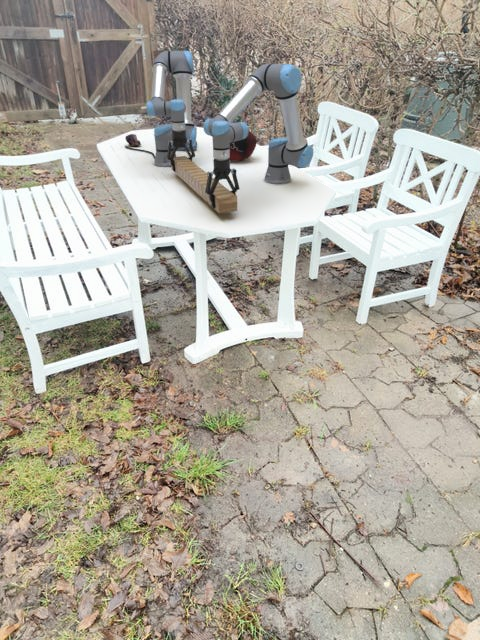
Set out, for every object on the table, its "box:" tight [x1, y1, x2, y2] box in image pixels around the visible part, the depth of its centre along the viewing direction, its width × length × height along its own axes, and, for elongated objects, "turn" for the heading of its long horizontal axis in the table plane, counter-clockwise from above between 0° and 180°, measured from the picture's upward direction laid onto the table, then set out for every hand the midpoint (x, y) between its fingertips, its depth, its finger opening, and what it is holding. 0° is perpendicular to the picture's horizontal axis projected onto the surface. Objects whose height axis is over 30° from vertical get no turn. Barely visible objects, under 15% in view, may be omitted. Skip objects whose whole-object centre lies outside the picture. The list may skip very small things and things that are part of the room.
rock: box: [125, 133, 142, 147], centre depth 332 cm, size 12×9×10 cm
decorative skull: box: [229, 129, 258, 162], centre depth 296 cm, size 21×24×25 cm
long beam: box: [170, 155, 238, 214], centre depth 240 cm, size 80×9×7 cm, turn 23°
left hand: (182, 170), depth 267 cm, fingers closed on long beam, 9 cm apart
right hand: (222, 206), depth 217 cm, fingers closed on long beam, 9 cm apart
